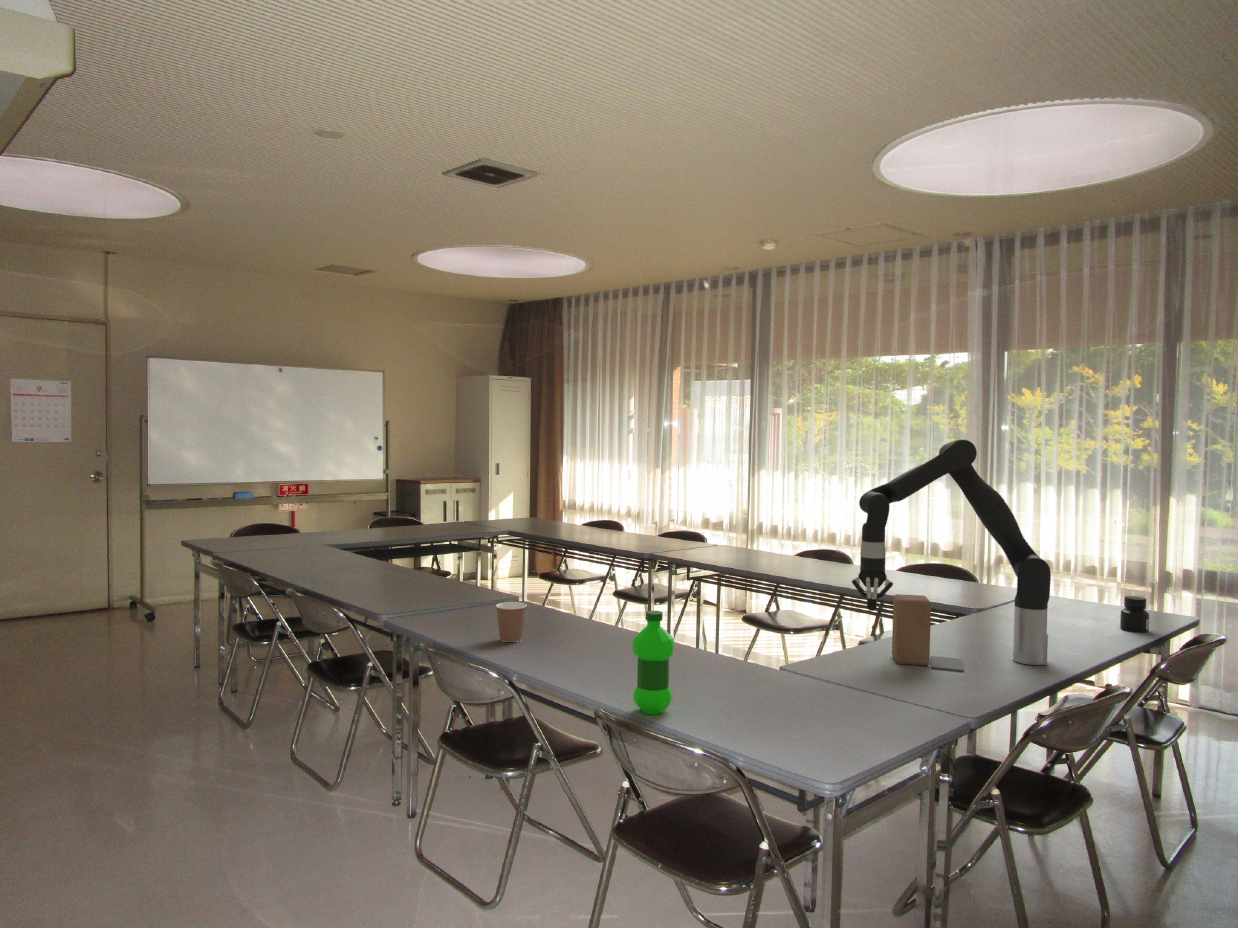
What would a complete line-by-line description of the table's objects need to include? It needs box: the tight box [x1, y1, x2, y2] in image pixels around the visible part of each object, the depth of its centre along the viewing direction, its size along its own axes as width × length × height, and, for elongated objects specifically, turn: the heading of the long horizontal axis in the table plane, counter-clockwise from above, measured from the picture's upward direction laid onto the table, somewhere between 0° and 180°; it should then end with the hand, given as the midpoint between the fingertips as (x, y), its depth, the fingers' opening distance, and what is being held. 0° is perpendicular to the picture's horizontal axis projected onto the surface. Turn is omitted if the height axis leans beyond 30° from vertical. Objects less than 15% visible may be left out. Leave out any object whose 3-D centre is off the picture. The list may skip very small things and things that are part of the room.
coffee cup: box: [495, 601, 528, 643], centre depth 275 cm, size 10×10×12 cm
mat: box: [930, 655, 964, 672], centre depth 252 cm, size 9×13×1 cm
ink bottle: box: [1119, 595, 1150, 634], centre depth 300 cm, size 10×9×12 cm
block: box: [891, 593, 932, 666], centre depth 255 cm, size 10×10×20 cm
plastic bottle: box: [632, 610, 675, 715], centre depth 207 cm, size 10×10×25 cm
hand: (871, 610), depth 259 cm, fingers closed
